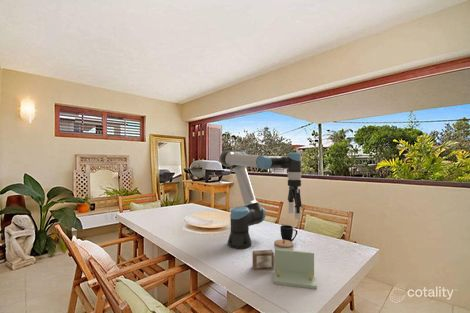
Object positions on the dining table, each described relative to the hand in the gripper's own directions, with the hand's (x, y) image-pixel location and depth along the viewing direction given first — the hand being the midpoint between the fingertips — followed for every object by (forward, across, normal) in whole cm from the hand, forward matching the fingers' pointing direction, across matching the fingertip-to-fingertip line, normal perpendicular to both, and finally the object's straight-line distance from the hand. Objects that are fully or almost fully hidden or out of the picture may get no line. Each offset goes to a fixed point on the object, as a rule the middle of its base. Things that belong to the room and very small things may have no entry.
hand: (293, 215), depth 132 cm
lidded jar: (+22, -4, +7) cm, 23 cm away
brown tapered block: (+22, -17, +20) cm, 34 cm away
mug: (+22, +20, -2) cm, 30 cm away
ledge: (+22, -29, +8) cm, 37 cm away
